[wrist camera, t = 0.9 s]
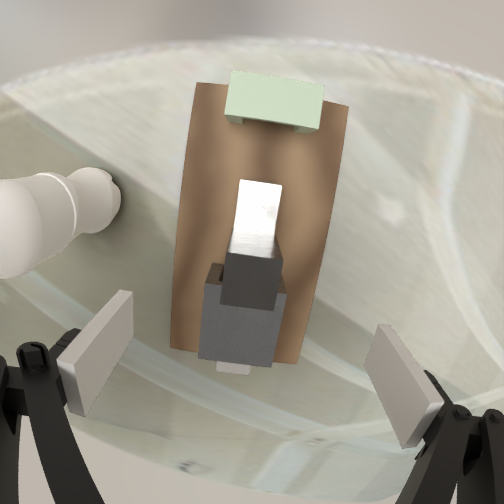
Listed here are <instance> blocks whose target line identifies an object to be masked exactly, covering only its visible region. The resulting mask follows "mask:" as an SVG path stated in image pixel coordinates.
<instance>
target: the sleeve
mask: <svg viewBox="0 0 504 504" xmlns="http://www.w3.org/2000/svg"><path fill="white" fill-rule="evenodd" d="M222 270H223V264H219V263H212V265H211V267H210V270H209V273H208V276H207V278H206V281H205V286H204V296H203V307H202V317H201V329H200V341H199V353H198V358H200V359H206V360H213V361H220V362H227V363H235V364H243V365H252V366H261V367H270V368H271V366H272V362H273V357H274V353H275V349H276V344H277V339H278V335H279V330H280V326H281V321H282V316H283V312H284V307H285V302H286V297H287V292H286V288H285V284H284V280H283V276H282V273H281V277H280V282H279V287H278V293H277V298H276V303H275V308H274V311H267V310H259V309H251V308H244V307H236V306H229V305H222V304H220V297H221V289H222V281H221V278H222Z"/></svg>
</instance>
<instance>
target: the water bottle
mask: <svg viewBox="0 0 504 504" xmlns="http://www.w3.org/2000/svg"><path fill="white" fill-rule="evenodd" d="M120 204H121V193H120V190H119V188H118V186H117V185H115V184H114V183H113V182H112V177H111V175H110V174H109V173H107V172H106V171H104V170H101V169H98V168H92V167H86V168H81V169H79V170H76V171H75V172H73V173H72V174H70V175H69V176H68V177H66V178H65V177H64V176H62V175H60V174H56V173H48V172H46V173H39V174H35V175H33V176H29V177H23V178H17V179H2V180H0V279H10V278H15V277H19V276H22V275H24V274H26V273H28V272H29V271H31V270H32V269H33V267H35V266H36V265H38V264H40V263H41V262H43V261H45V260H46V259H48V258H50V257H52V256H54V255H58V254H59V253H61V252H62V251H63V250H64V249H65V248H66V247H67V246H68V245H69V243H70V242H71V241H72V240H73V239H74V238H75V237H77V236H78V235H79V234H81V233H96V232H99V231H101V230H103V229H104V228H106V227H107V226H108V225H109V224H110V223H111V221H112V220H113V218H114V217H115V215H116V214H117V212H118V211H119V208H120Z"/></svg>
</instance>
